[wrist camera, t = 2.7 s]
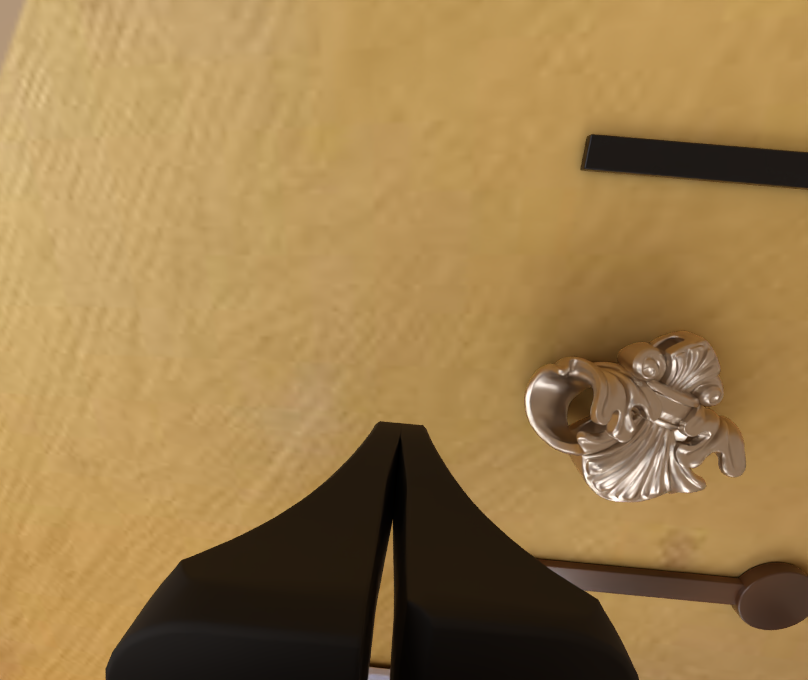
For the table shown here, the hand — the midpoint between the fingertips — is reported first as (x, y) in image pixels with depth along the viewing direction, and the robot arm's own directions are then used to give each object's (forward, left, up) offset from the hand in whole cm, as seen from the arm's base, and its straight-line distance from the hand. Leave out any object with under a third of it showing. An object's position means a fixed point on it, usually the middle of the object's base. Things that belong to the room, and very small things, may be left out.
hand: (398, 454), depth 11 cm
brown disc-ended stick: (+13, -10, -6) cm, 17 cm away
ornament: (+9, 0, -6) cm, 11 cm away
